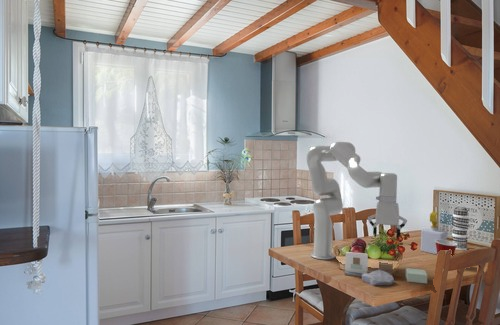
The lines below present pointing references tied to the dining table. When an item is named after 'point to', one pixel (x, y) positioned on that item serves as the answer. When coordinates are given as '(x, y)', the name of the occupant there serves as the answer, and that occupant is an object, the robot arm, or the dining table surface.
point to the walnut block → (386, 267)
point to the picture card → (356, 264)
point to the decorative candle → (460, 227)
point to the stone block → (378, 278)
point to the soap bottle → (431, 236)
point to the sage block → (416, 275)
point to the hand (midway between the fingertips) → (386, 236)
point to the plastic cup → (445, 245)
